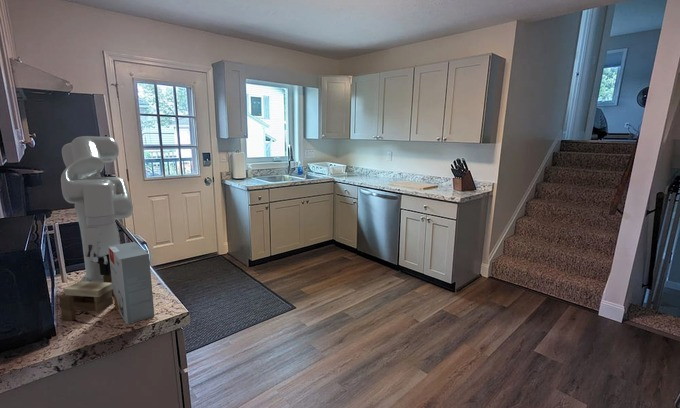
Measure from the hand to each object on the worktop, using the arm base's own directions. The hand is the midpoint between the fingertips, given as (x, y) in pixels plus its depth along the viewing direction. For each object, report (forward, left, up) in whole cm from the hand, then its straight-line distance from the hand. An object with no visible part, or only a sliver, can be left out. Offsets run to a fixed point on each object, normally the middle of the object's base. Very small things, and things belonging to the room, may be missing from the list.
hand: (106, 274), depth 111 cm
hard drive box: (+8, +15, -8) cm, 19 cm away
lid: (+7, 0, -3) cm, 8 cm away
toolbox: (+7, 0, -8) cm, 11 cm away
